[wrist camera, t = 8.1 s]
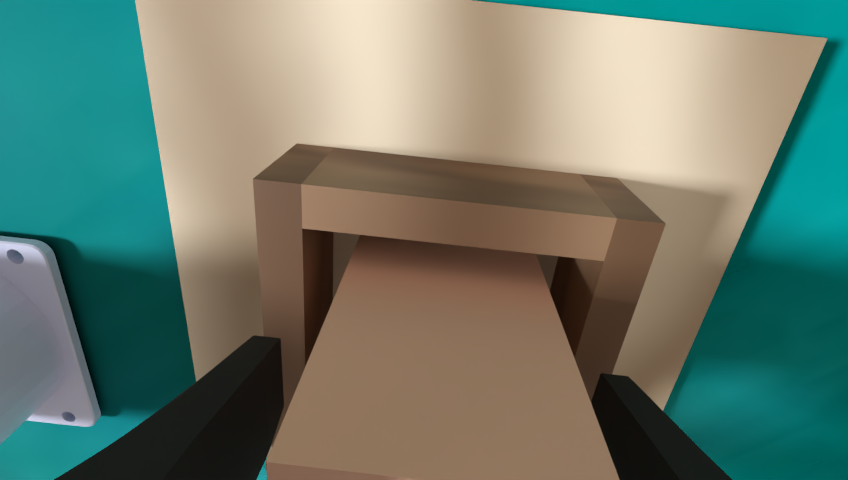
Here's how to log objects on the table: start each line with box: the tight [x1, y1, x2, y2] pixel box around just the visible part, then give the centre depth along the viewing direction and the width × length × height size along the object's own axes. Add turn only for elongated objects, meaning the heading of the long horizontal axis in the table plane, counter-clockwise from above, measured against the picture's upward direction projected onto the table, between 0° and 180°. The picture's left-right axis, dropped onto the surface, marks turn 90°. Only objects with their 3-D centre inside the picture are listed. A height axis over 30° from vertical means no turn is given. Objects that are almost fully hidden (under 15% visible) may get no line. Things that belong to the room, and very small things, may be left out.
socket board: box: [135, 0, 827, 457], centre depth 13 cm, size 16×16×4 cm
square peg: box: [266, 235, 619, 480], centre depth 10 cm, size 4×4×8 cm
